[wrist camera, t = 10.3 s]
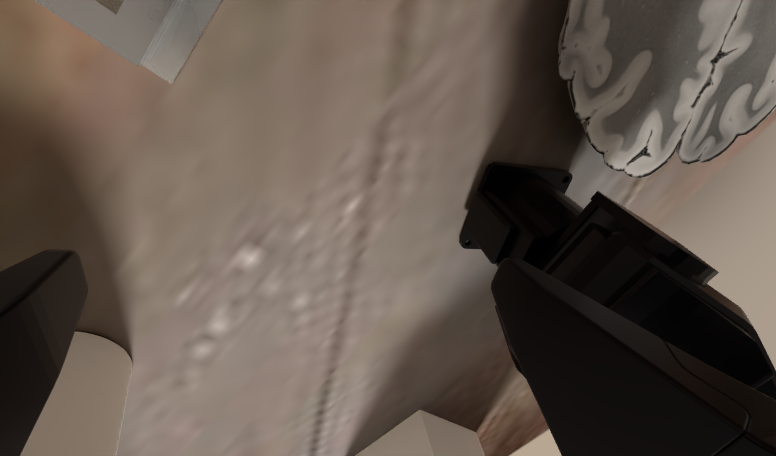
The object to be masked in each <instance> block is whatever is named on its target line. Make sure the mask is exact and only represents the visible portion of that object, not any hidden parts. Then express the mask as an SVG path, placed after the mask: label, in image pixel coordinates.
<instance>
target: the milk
mask: <svg viewBox="0 0 776 456" xmlns="http://www.w3.org/2000/svg"><path fill="white" fill-rule="evenodd" d="M355 456H485V455H484V452H483V449H482V447H481V444H480V441H479V439H478V436H477V433H476V432H474V431H472V430H469V429H467V428H464V427H462V426H459V425H457V424H454V423H452V422H450V421H447V420H445V419H442V418H440V417H437V416H435V415H432V414H430V413H427V412H425V411H423V410H418V411H417V412H415V413H414V414H413V415H411V416H410V417H408V418H407V419H406V420H404V421H403V422H401V423H400V424H399V425H397V426H396V427H394V428H393V429H392V430H390V431H389V432H387V433H386V434H385V435H383V436H382V437H381V438H379V439H378V440H376V441H375V442H374V443H372V444H371V445H369V446H368V447H367V448H365V449H364V450H362V451H361V452H360V453H358V454H357V455H355Z"/></svg>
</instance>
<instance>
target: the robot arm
mask: <svg viewBox="0 0 776 456" xmlns="http://www.w3.org/2000/svg"><path fill="white" fill-rule="evenodd" d="M494 169H497V170H496V172H494V173H492V172H493V170H494ZM564 177H565V178H564ZM563 178H564V179H563ZM571 180H572V174H571V173H569V172H568V171H566V170H558V169H550V168H541V167H533V166H524V165H516V164H507V163H499V162H493V163H491V164H490V165H488V167H487V168H486V171H485V174H484V176H483V179H482V182H481V184H480V187H479V189H478V192H477V194H476V195H475V198H474V200H473V203H472V206H471V208H470V211H469V213H468V216H467V219H466V221H465V224H464V229H463V232H462V234H461V237H460V239H459V243H460V245H461V246H462V247H463V248H465V249H481V250H482V251H483V253H484V254H485V255H486V257H487V258H488V259H489V261H490V262H491V263H492V264H496V265H497V267H498V270H497V272H496V274H495V276H494V278H493V280H492V283H491V290H492V294H493V297H494V300H495V302H496V306H495V308H496V311H497V314H498V317H499V320H500V323H501V327H502V330H503V333H504V336H505V339H506V342H507V345H508V348H509V351H510V354H511V356H512V359H513V361H514V363H515V366H516V368H517V370H518V371H519V372H520V373H521V374H522V375H523V376H524V377H525V378H526V379H527V382H528V384H529V386H530V388H531V390H532V392H533V394H534V397H535V399H536V401H537V403H538V405H539V407H540V410H541V412H542V414H543V416H544V418H545V420H546V422H547V425H548V427H549V429H550V431H551V433H552V435H553V438H554V440H555V442H556V444H557V446H558V448H559V451H560V453H561V455H562V456H776V370H775V368H774V366H773V364H772V363H771V360H770V358H769V356H768V355H767V352H766V350H765V348H764V346H763V344H762V342H761V340H760V338H759V336H758V334H757V332H756V331H755V329H754V327H753V326H752V324H751V323H750V321H749V319H748V318H747V316H746V315H745V313H744V311H743V310H742V309H741V308H740V307H739V306H738V305H736V304H735V303H733V302H732V301H731V300H729V299H728V298H726V297H725V296H723V295H722V294H721V293H719V292H718V291H716V290H715V289H714V288H712V287H711V286H709V285H708V284H707V283H708V281H709V280H711V279H712V278H713V277H714V276H715V275H717V274H718V271H716V270H715V269H713V268H712V267H711V266H710V265H708V264H707V263H706V262H704V261H703V260H701V259H700V258H699V257H697V256H696V255H695V254H693V253H692V252H691V251H689V250H688V249H687V248H685V247H684V246H683V245H681V244H680V243H678V242H677V241H676V240H674V239H672V238H671V237H669V236H668V235H666V234H665V233H663V232H662V231H660V230H659V229H657V228H656V227H654V226H653V225H651V224H650V223H648V222H647V221H645V220H644V219H642V218H641V217H639V216H637V215H636V214H634V213H633V212H631V211H629V210H628V209H626V208H625V207H623V206H621V205H620V204H618V203H616V202H615V201H613V200H612V199H610V198H608V197H607V196H605V195H604V194H602V193H600V192H599V191H597V192H596V193H595V194H594V195H593V197H592V198H591V200H592V201H591V202H590V203H589V204H588V205H587V206H586V207H585V208H584V209H583V208H582V207H580V206H579V205H578V204H577V203H575V202H574V201H573V200H571V199H570V198H569V197H567V196H566V195H565V192H566V190H567V188H568V186H569V184H570V182H571ZM467 240H468V241H467ZM466 241H467V242H466ZM87 293H88V285H87V281H86V277H85V274H84V270H83V267H82V263H81V260H80V257H79V255H78V253H77V252H75V251H73V250H45V251H42V252H40V253H38V254H36V255H34V256H32V257H30V258H28V259H26V260H24V261H22V262H20V263H18V264H16V265H13V266H11V267H9V268H7V269H5V270H3V271H1V272H0V456H20V455H21V453H22V451H23V449H24V447H25V445H26V443H27V441H28V439H29V436H30V434H31V432H32V430H33V428H34V426H35V424H36V422H37V420H38V418H39V416H40V414H41V412H42V410H43V408H44V406H45V404H46V402H47V400H48V398H49V396H50V394H51V392H52V390H53V388H54V386H55V383H56V381H57V379H58V377H59V375H60V372H61V370H62V367H63V364H64V362H65V359H66V356H67V353H68V350H69V347H70V344H71V341H72V339H73V336H74V333H75V330H76V327H77V324H78V321H79V318H80V315H81V312H82V310H83V307H84V304H85V301H86V298H87Z"/></svg>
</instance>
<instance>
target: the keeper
mask: <svg viewBox="0 0 776 456" xmlns="http://www.w3.org/2000/svg"><path fill="white" fill-rule="evenodd" d="M34 1H35V2H37V3H38V4H40V5H42V6H43V7H45V8H46V9H48V10H49V11H51V12H53V13H54V14H56V15H57V16H59V17H60V18H62V19H64V20H65V21H67V22H68V23H70V24H71V25H73V26H75V27H76V28H78V29H79V30H81V31H82V32H84V33H86V34H87V35H89V36H90V37H92V38H93V39H95V40H97V41H98V42H100V43H101V44H103V45H104V46H106V47H108V48H109V49H111V50H112V51H114V52H115V53H117V54H119V55H120V56H122V57H123V58H125V59H126V60H128V61H130V62H131V63H133V64H134V65H136V66H137V67H138V66H139V65H143V66H144V67H146V68H147V69H149V70H150V71H152V72H154V73H155V74H157V75H158V76H160V77H161V78H163V79H164V80H166V81H168V82H169V83H171V84H172V83H173V82H174V81H175V79H176V78H177V76H178V74H179V73H180V71H181V69H182V68H183V66H184V64H185V63H186V61H187V59H188V57H189V56H190V54H191V52H192V51H193V49H194V47H195V46H196V44H197V42H198V41H199V39H200V37H201V36H202V34H203V32H204V31H205V29H206V27H207V26H208V24H209V22H210V21H211V19H212V17H213V16H214V14H215V12H216V11H217V9H218V7H219V6H220V4H221V2H222V1H223V0H34Z"/></svg>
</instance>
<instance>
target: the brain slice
mask: <svg viewBox="0 0 776 456" xmlns="http://www.w3.org/2000/svg"><path fill="white" fill-rule="evenodd" d="M558 53H559V55H560V57H559V59H558V67H559V73H560V77H561V78H562V79H564V80H565V81H568V90H569V94H570V98H571V102H572V106H573V109H574V112H575V115H576V118H578V119H580V121H581V123H582V125H583V128H584V131H585V133H586V136H587V138H588V141H589V143H590V144H591V145H592V146H593V148H594V149H595V150H596V151H597V152H599V153H601V154H603V158H604V162H605V164H606V165H607V166H609V167H610V168H611V169H614V170H617V171H624V172H625V173H626V174H627V175H629V176H631V177H639V178H641V177H645V176H648V175H650V174H652V173H653V172H655V171H656V170H658V169H659V168H660V167H662V166H663V165H664V164H665V163H667V161H668V160H669V159H670V158H671V156H672V155H673V154H674V152H675V150H676V152H677V154H678V155H679V157H680V159H681V161H682V163H683V164H691V163H694V162H698V161H700V162H707V161H710V160H712V159H714V158H715V157H717V156H719V155H720V154H722V153H723V152H724V151H725V150H727V149H728V148H729V146H730V145H731V144H732V143H733V142H734V141H735V140H736V138H737V137H738V136H740V135H745V134H747V133H749V132H750V131H752V130H753V129H755V128H756V127H757V126H758V125H759V124H760V123H761V122H763V121H764V120H765V119H766V118H767V117H768V116H769V115H770V114H771V113H772V112H773V111H774V110H775V109H776V0H569V4H568V9H567V13H566V17H565V21H564V25H563V27H562V30H561V33H560V37H559V43H558Z"/></svg>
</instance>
